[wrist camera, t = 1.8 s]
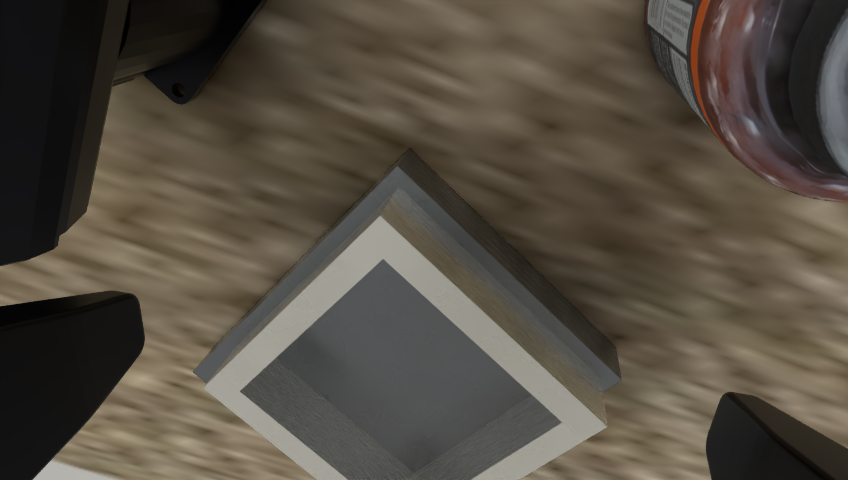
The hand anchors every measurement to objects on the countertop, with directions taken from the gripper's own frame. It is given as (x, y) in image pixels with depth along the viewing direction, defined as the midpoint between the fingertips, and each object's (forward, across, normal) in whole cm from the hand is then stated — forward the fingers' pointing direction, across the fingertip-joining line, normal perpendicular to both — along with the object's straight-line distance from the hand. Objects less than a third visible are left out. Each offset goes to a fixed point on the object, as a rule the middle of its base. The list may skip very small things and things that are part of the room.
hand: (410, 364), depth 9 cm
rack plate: (+13, -2, -9) cm, 16 cm away
